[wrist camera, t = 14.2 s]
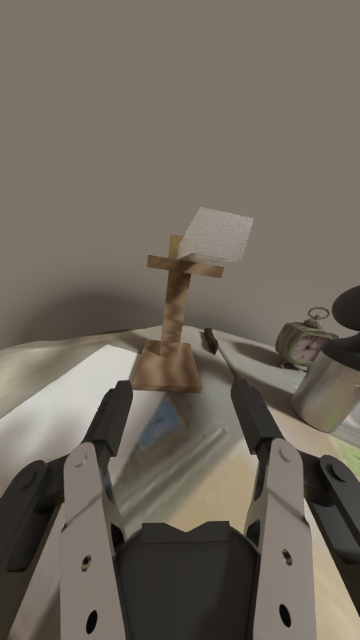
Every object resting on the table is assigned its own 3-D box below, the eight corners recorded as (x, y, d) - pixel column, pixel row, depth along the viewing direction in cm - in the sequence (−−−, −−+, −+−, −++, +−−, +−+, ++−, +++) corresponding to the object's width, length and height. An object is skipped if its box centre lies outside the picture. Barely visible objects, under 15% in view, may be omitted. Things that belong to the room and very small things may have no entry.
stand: (189, 347, 58) (205, 266, 47) (200, 392, 38) (233, 268, 26) (145, 344, 56) (151, 257, 44) (132, 389, 36) (136, 252, 24)
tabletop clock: (278, 370, 53) (310, 307, 44) (266, 355, 61) (291, 300, 52) (317, 376, 52) (357, 314, 43) (299, 361, 61) (330, 306, 52)
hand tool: (203, 333, 74) (205, 325, 72) (210, 334, 74) (212, 326, 72) (207, 354, 56) (210, 344, 54) (217, 356, 56) (220, 346, 54)
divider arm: (192, 264, 40) (195, 244, 38) (264, 264, 10) (295, 173, 8) (168, 260, 39) (170, 240, 37) (166, 248, 9) (177, 141, 7)
